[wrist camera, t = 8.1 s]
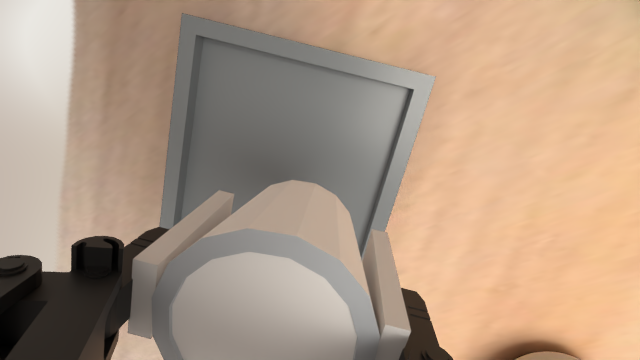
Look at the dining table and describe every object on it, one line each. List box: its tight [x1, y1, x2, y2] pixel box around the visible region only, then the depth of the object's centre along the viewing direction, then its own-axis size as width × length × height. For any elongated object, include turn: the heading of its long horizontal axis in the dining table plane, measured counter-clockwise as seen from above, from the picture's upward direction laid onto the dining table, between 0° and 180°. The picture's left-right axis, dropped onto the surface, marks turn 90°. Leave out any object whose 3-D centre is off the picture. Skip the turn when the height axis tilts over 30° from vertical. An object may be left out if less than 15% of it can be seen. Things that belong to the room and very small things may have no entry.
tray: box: [160, 13, 436, 260], centre depth 28 cm, size 19×19×2 cm
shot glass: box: [152, 180, 380, 360], centre depth 13 cm, size 7×7×7 cm
